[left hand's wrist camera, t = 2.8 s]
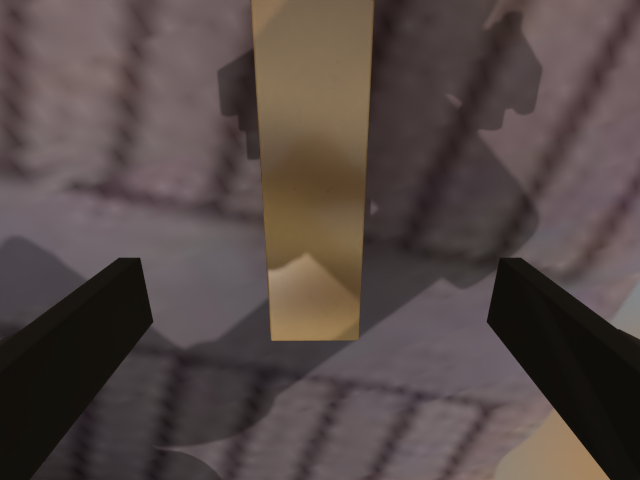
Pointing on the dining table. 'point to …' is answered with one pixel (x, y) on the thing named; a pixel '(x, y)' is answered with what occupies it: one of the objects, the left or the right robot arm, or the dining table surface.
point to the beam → (313, 160)
